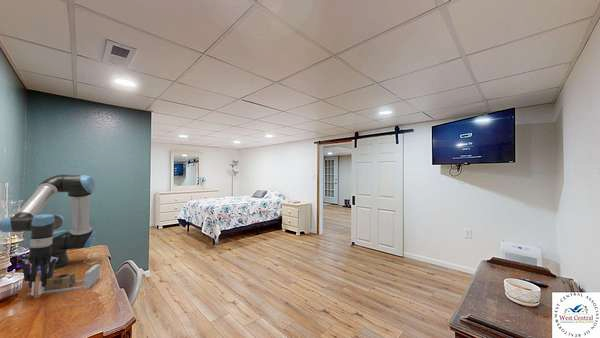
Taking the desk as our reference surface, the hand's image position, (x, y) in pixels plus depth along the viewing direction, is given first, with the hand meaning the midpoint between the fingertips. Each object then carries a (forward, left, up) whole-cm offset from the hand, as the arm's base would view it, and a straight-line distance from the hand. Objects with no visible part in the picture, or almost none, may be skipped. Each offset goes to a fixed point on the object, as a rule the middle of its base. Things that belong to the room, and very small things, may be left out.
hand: (37, 293), depth 115 cm
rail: (-10, +6, -3) cm, 12 cm away
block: (-10, +2, -2) cm, 10 cm away
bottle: (-22, -10, -3) cm, 24 cm away
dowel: (0, 0, -3) cm, 3 cm away
